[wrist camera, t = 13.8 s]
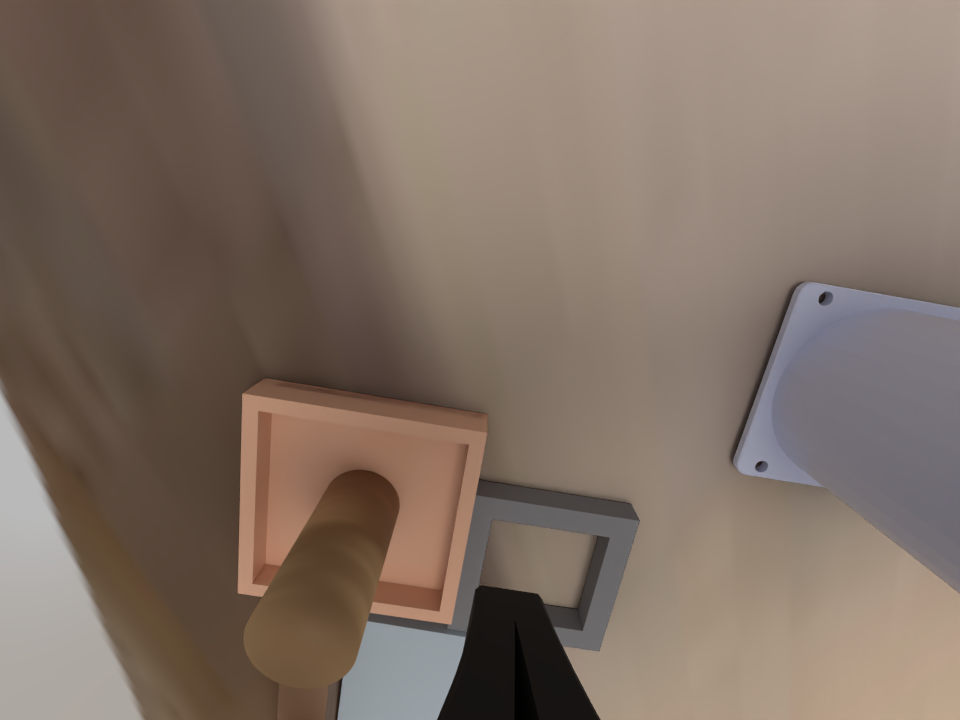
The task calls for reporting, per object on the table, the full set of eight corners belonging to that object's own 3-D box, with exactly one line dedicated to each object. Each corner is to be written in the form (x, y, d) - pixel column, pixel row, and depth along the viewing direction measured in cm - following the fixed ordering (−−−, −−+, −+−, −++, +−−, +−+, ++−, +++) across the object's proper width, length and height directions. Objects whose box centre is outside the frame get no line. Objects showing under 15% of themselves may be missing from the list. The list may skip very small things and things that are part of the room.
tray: (487, 414, 19) (487, 433, 17) (454, 592, 22) (451, 624, 20) (265, 377, 19) (242, 393, 17) (258, 563, 21) (237, 593, 20)
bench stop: (354, 602, 22) (321, 694, 18) (340, 724, 24) (308, 832, 20) (312, 596, 22) (269, 687, 18) (302, 718, 24) (262, 826, 20)
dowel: (408, 481, 19) (370, 614, 13) (388, 544, 20) (343, 699, 14) (333, 460, 19) (254, 584, 12) (317, 524, 20) (234, 673, 13)
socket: (631, 504, 20) (639, 521, 19) (593, 629, 22) (599, 651, 21) (473, 479, 20) (472, 494, 19) (449, 608, 22) (447, 629, 21)
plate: (524, 611, 23) (527, 647, 21) (494, 730, 25) (494, 772, 23) (362, 584, 22) (350, 618, 21) (345, 706, 25) (333, 747, 23)
